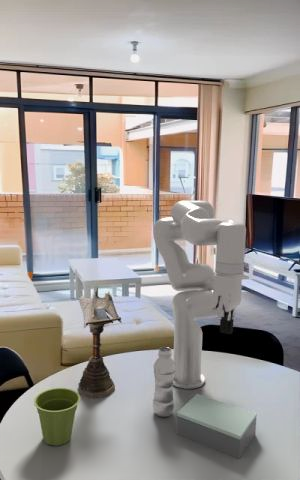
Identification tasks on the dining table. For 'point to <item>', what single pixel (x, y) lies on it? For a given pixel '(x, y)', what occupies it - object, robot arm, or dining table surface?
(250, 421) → the cover
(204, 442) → the grey open box
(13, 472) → the dining table surface
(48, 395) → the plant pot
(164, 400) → the plastic bottle
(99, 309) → the ornate pedestal stand
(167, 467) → the dining table surface
